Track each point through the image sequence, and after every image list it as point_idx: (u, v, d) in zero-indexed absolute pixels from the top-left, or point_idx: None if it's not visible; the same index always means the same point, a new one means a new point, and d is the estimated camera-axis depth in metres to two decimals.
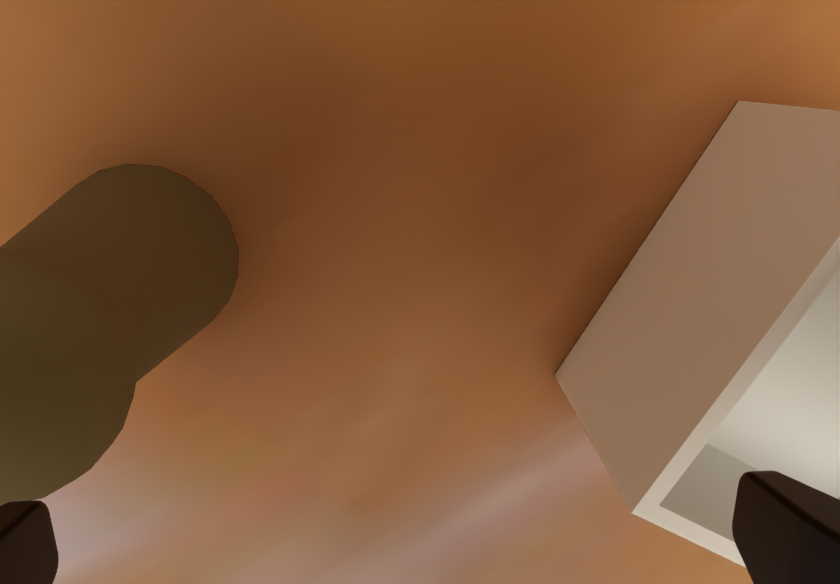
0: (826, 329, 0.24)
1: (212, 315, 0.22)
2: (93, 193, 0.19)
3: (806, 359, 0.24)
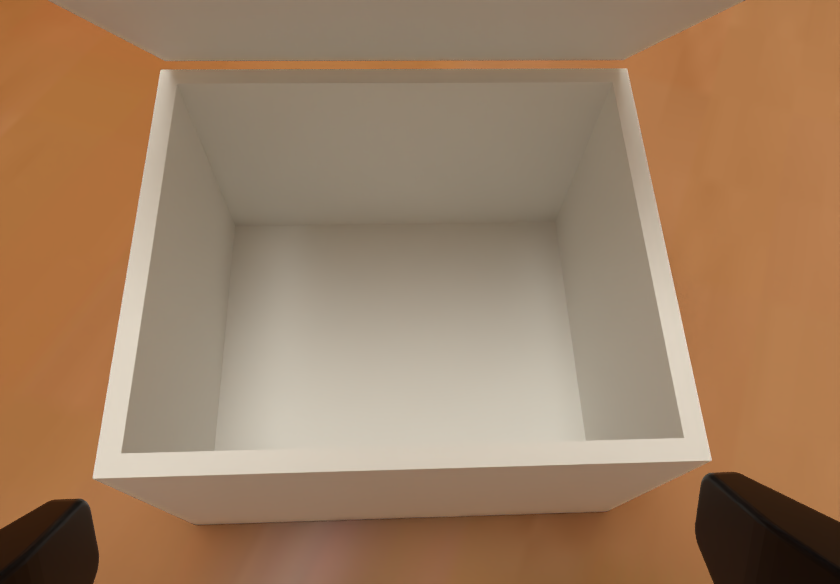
0: (426, 328, 0.24)
1: None
2: None
3: (431, 363, 0.23)
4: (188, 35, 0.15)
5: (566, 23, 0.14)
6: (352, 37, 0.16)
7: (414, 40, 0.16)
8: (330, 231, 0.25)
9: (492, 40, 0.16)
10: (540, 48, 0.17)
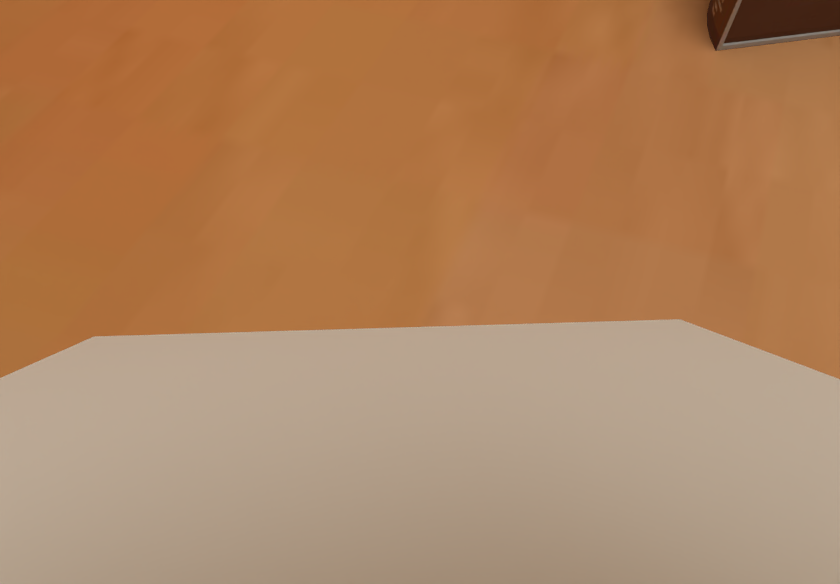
0: None
1: None
2: None
3: None
4: None
5: None
6: None
7: None
8: None
9: None
10: None
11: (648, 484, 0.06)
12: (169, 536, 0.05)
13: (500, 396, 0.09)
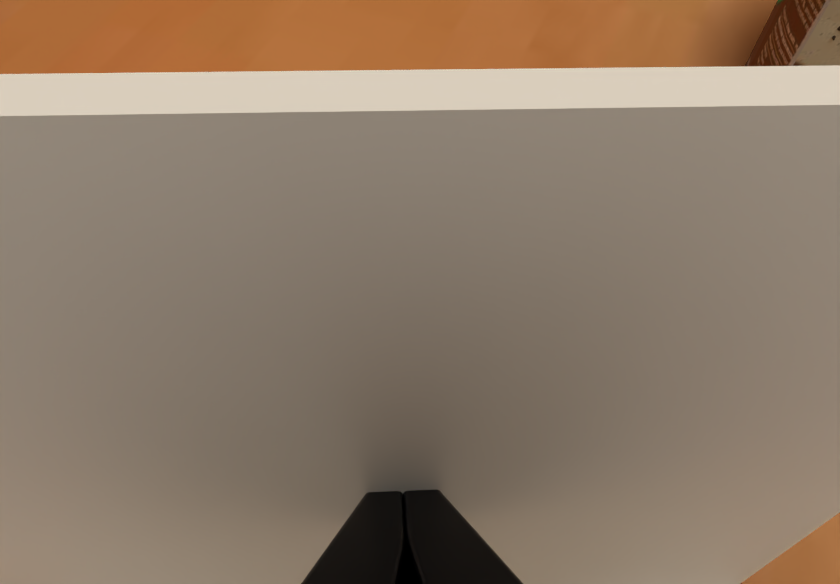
0: None
1: None
2: None
3: None
4: (64, 553, 0.10)
5: (667, 496, 0.09)
6: None
7: None
8: None
9: (547, 545, 0.10)
10: (619, 562, 0.11)
11: None
12: None
13: None
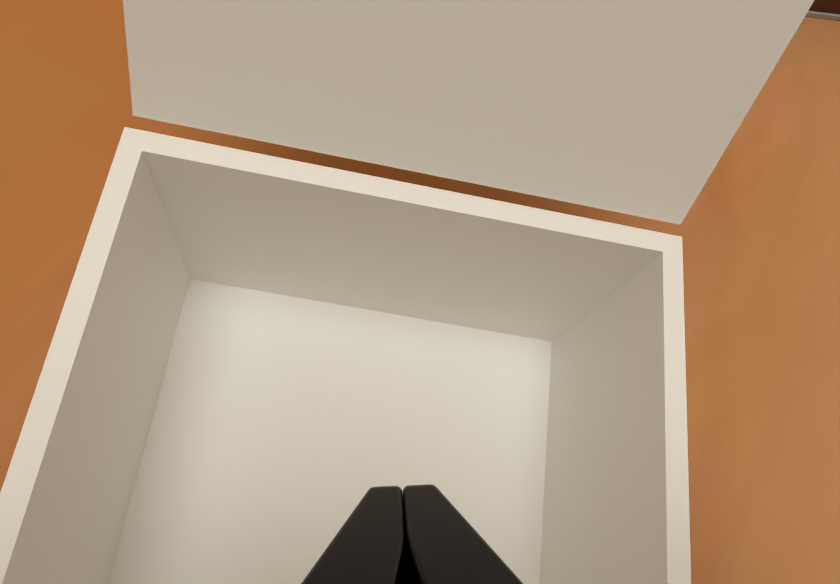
0: (386, 446, 0.21)
1: None
2: None
3: None
4: None
5: (654, 4, 0.13)
6: (398, 25, 0.13)
7: (466, 57, 0.14)
8: (299, 305, 0.22)
9: (555, 78, 0.14)
10: (600, 137, 0.15)
11: None
12: None
13: None
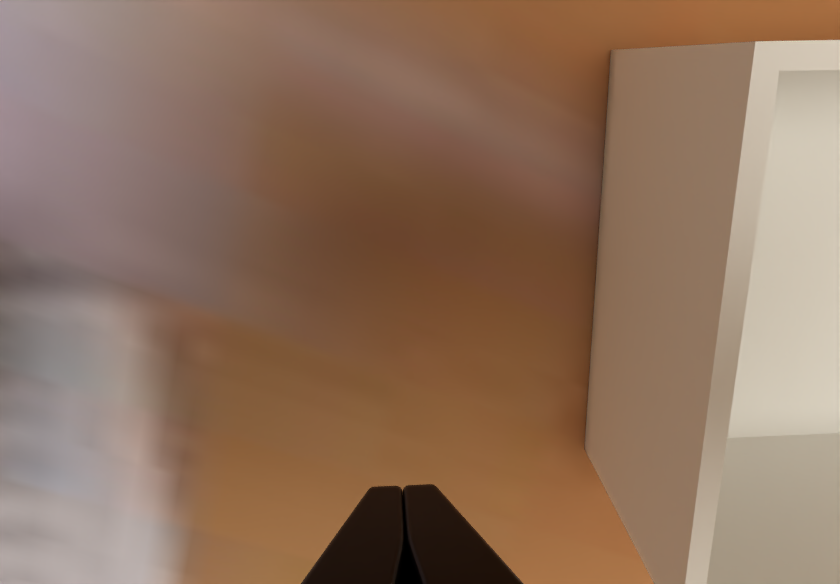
0: (793, 295, 0.22)
1: None
2: None
3: (753, 299, 0.22)
4: None
5: None
6: None
7: None
8: None
9: None
10: None
11: None
12: None
13: None
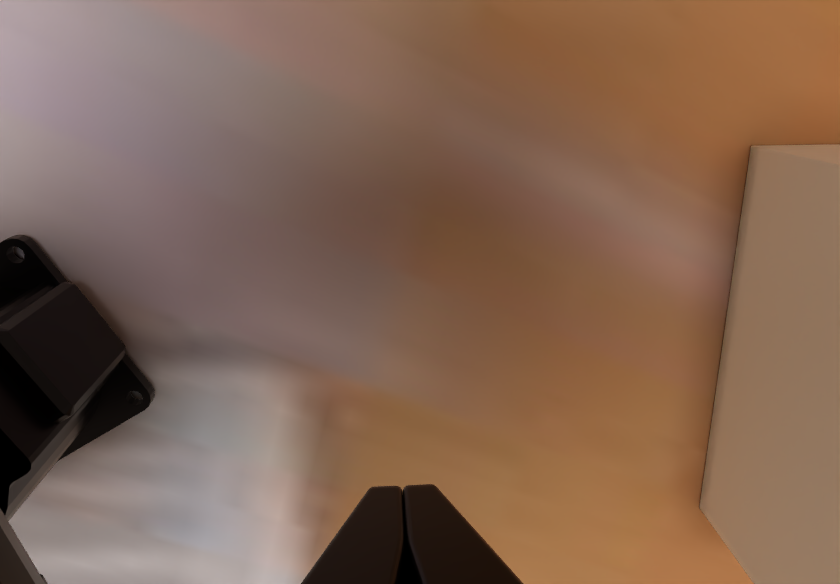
0: None
1: None
2: None
3: None
4: None
5: None
6: None
7: None
8: None
9: None
10: None
11: None
12: None
13: None
